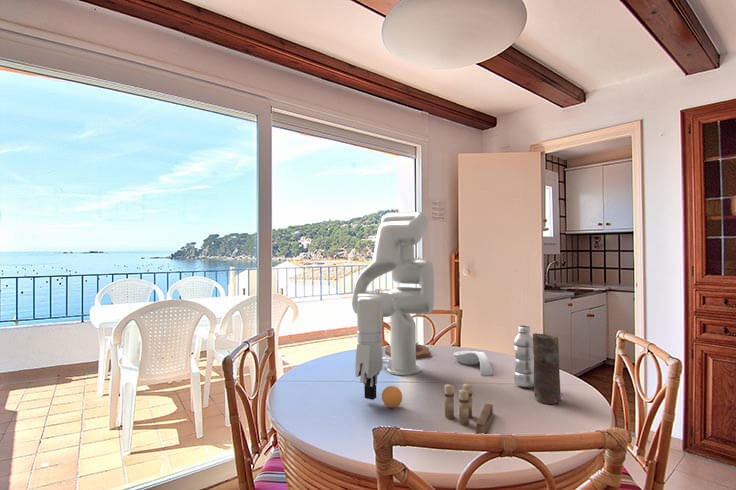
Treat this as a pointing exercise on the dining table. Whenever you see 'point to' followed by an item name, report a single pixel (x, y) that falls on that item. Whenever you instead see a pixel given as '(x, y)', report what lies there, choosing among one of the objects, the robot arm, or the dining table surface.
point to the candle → (546, 368)
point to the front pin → (449, 401)
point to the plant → (420, 351)
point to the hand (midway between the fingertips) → (370, 398)
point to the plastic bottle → (524, 357)
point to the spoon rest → (475, 360)
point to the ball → (391, 396)
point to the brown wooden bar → (484, 418)
